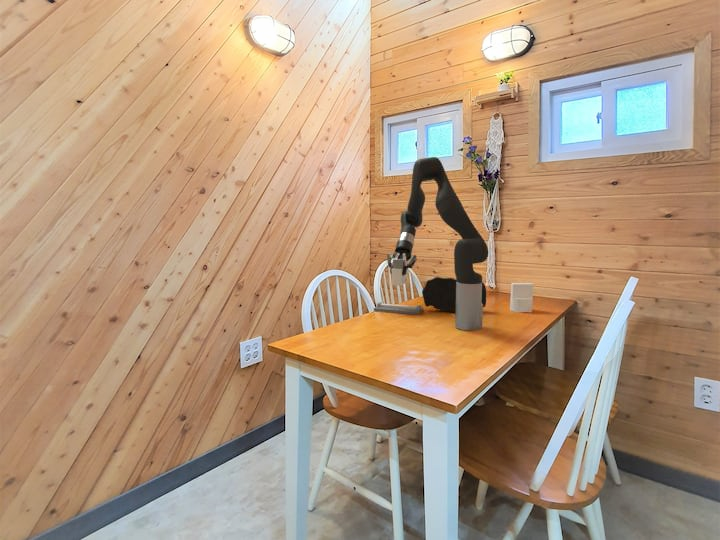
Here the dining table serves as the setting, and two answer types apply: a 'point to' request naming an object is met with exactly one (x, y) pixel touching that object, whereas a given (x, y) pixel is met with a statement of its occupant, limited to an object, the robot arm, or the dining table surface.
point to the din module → (398, 272)
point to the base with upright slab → (521, 297)
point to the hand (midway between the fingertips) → (397, 274)
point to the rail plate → (399, 308)
